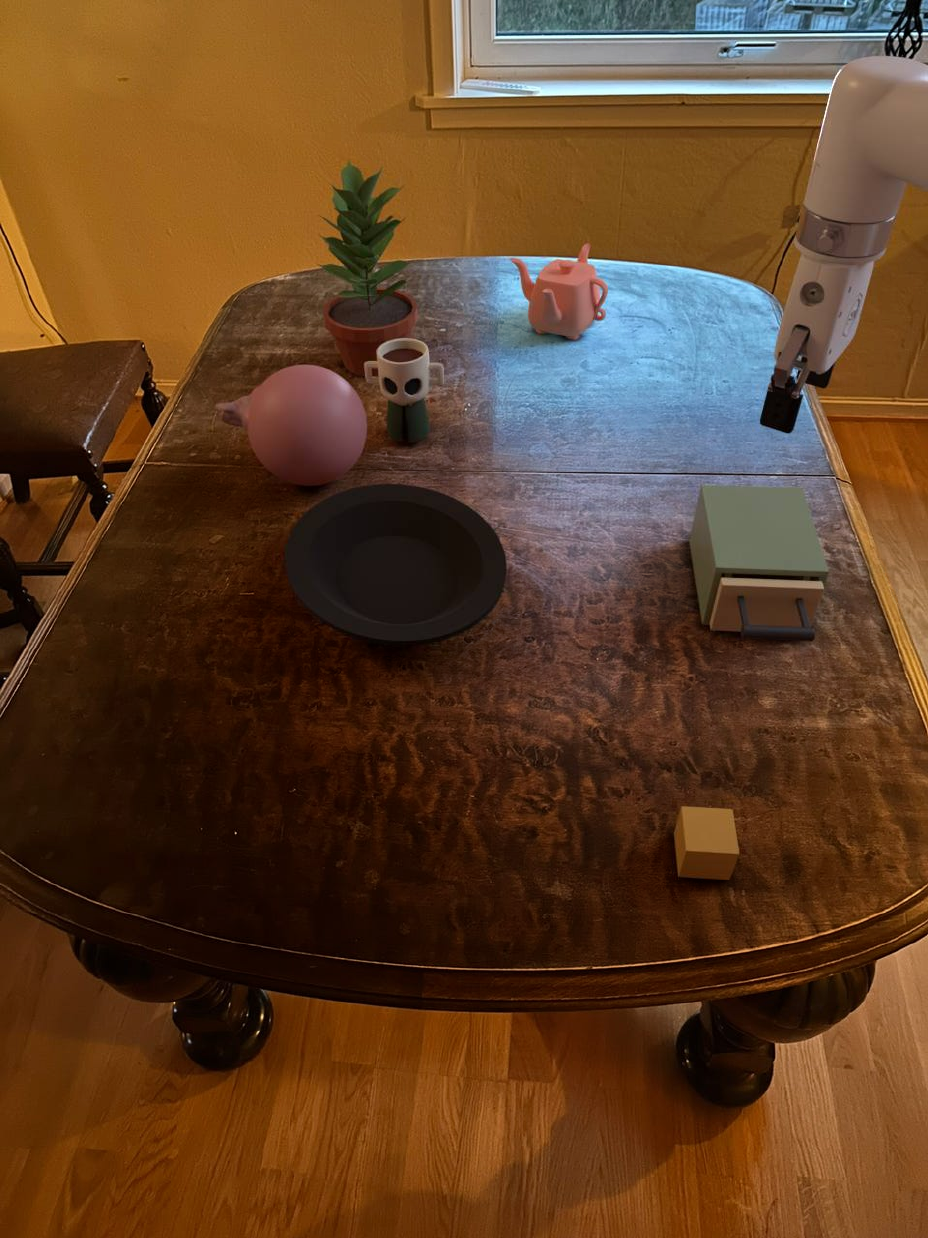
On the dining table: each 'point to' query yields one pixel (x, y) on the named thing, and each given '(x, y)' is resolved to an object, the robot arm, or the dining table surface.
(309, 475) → the balloon
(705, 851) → the block
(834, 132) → the robot arm
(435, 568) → the plate
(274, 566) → the dining table surface
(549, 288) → the teapot
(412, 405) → the character mug
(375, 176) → the potted plant
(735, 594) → the drawer
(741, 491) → the cabinet
